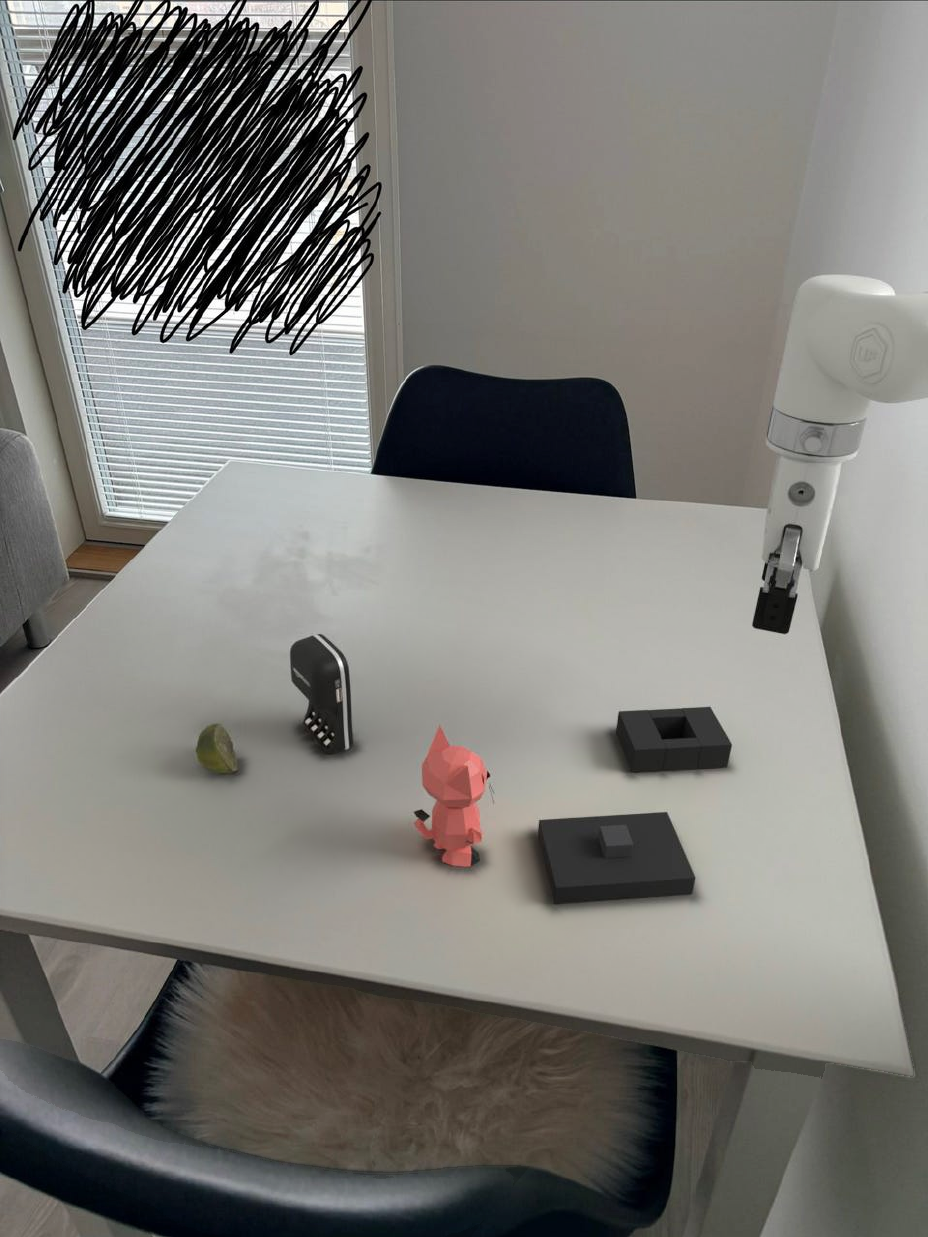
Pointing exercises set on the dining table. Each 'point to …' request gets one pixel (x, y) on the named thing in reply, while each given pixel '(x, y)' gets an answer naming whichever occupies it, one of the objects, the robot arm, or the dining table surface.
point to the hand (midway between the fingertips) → (774, 605)
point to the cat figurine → (453, 800)
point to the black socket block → (672, 739)
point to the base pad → (614, 857)
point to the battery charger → (324, 691)
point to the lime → (216, 750)
